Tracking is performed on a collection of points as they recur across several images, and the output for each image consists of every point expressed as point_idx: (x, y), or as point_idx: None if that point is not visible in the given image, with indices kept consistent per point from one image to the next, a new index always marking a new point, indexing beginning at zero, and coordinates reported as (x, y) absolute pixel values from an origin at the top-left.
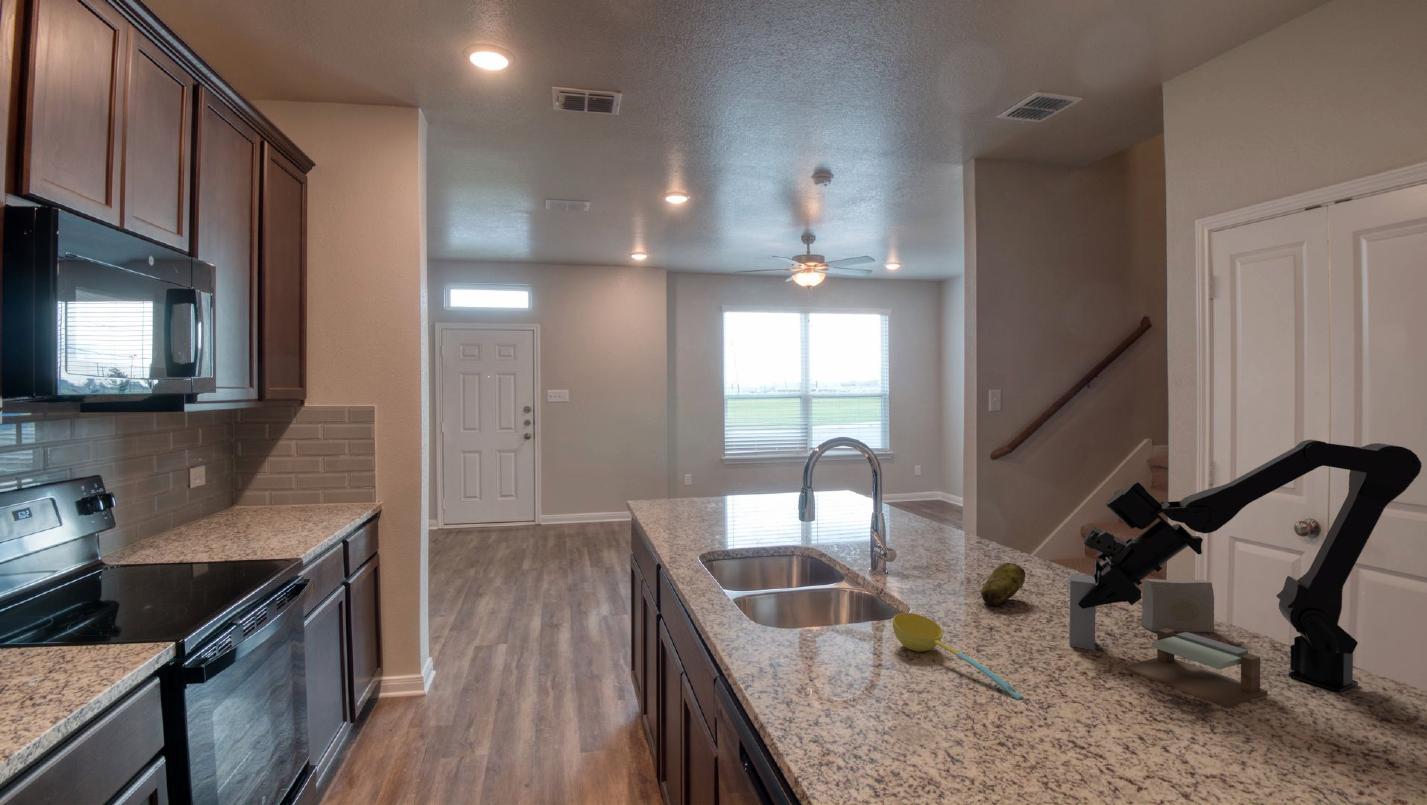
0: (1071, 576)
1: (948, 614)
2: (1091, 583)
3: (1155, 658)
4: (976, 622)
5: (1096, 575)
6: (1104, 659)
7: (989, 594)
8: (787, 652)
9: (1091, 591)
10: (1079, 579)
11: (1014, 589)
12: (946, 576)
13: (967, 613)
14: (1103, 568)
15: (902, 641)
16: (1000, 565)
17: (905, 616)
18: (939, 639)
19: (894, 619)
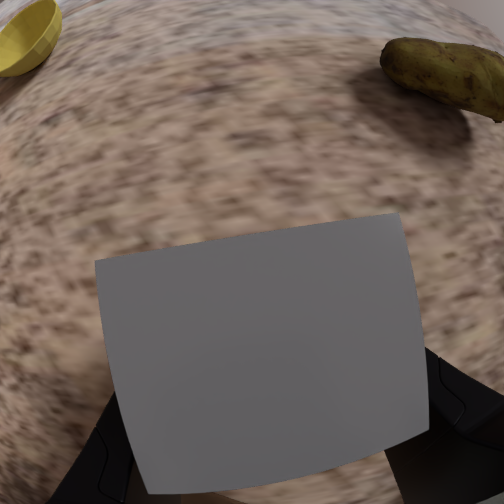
0: (298, 243)
1: (259, 19)
2: (138, 462)
3: (227, 502)
4: (242, 59)
5: (452, 436)
6: None
7: (386, 49)
8: (7, 12)
9: (91, 436)
10: (212, 347)
11: (454, 95)
12: (465, 35)
13: (297, 41)
14: (502, 491)
15: (10, 47)
16: (493, 51)
17: (52, 4)
18: (2, 74)
19: (21, 11)
